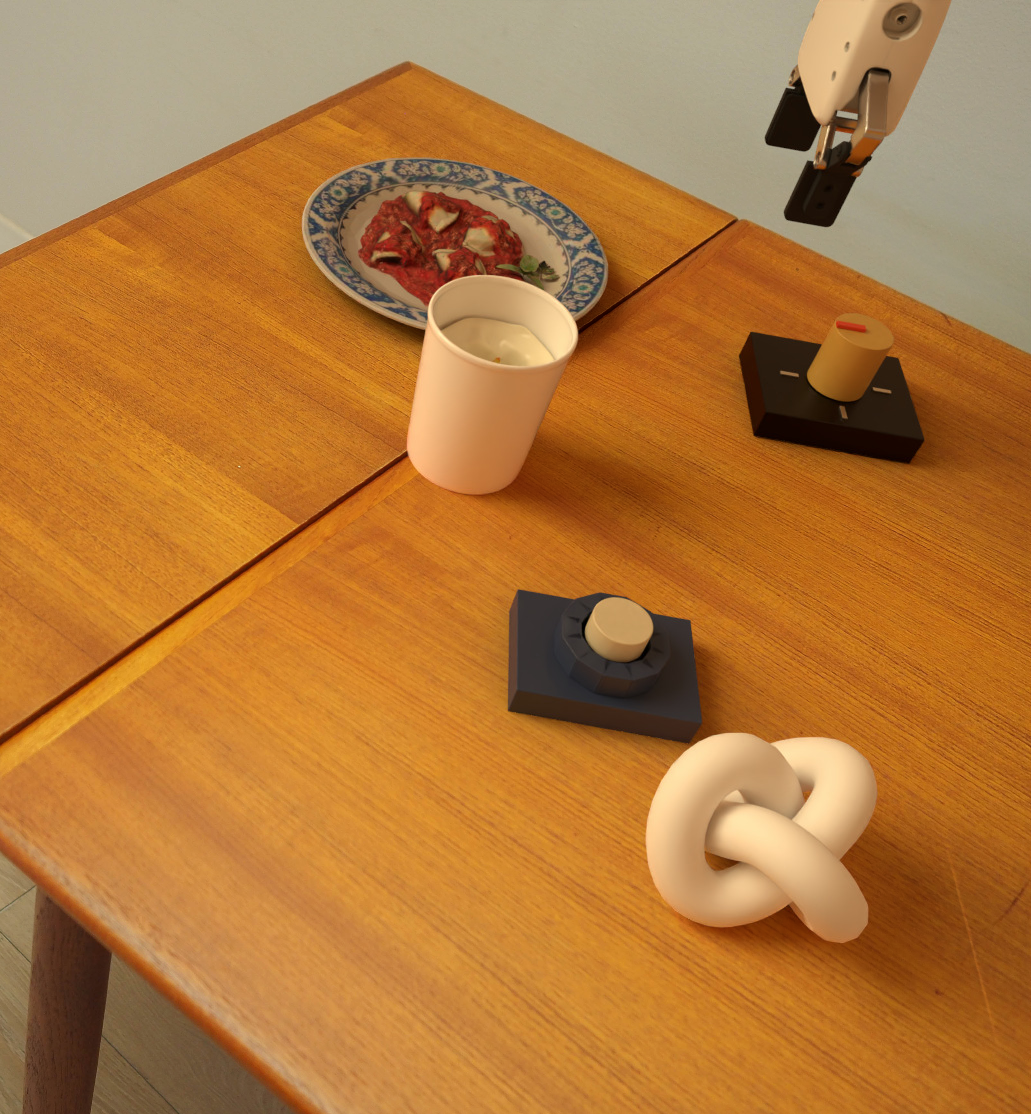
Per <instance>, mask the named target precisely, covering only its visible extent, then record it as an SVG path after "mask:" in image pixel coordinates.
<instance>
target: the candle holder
mask: <svg viewBox="0 0 1031 1114" xmlns="http://www.w3.org/2000/svg"><path fill="white" fill-rule="evenodd" d="M576 322H577V321H575V320H574V318H573V316H572V315H571V313H570V312H569V311H568V310H567V308H566V307H565V306H564V305H563V304H562V303H561V302H560V301H558V300H557V299H556V298H554V297H553V296H552V295H550V294H549V293H547V292H545V291H544V290H542V289H540V288H538V287H536V286H533V285H531V284H529V283H526V282H523V281H520V280H516V279H512V278H508V277H502V276H494V275H474V276H467V277H462V278H458V279H455V280H453V281H450V282H448V283H446V284H445V285H443V286H442V287H440V288H439V289H438V290H437V291H436V292H435V293H434V295H433V296H432V298H431V300H430V303H429V306H428V318H427V324H426V330H424V336H423V341H422V348H421V353H420V360H419V365H418V371H417V376H416V381H415V387H414V388H415V389H414V393H413V399H412V405H411V412H410V417H409V423H408V428H407V430H408V431H407V436H406V452H407V456H408V458H409V461H410V462H411V464H412V465H413V467H414V468H415V470H416V471H417V472H418V473H419V474H420V475H421V476H422V477H423V478H425V479H426V480H427V481H428V482H430V483H432V484H434V485H435V486H437V487H440V488H441V489H444V490H447V491H449V492H453V493H457V494H461V495H470V496H481V495H488V494H493V493H497V492H499V491H502V490H504V489H505V488H507V487H508V486H509V485H511V484H512V483H513V482H514V481H515V480H516V478H517V477H518V475H519V474H520V472H521V470H522V467H523V466H524V464H525V461H526V459H527V457H528V455H529V453H530V450H531V448H532V446H533V444H534V441H535V439H536V437H537V435H538V432H539V430H540V427H541V425H542V423H543V421H544V418H545V416H546V414H547V411H548V409H549V407H550V405H551V402H552V400H553V398H554V395H555V393H556V391H557V389H558V386H559V384H560V381H561V379H562V377H563V375H564V372H565V370H566V368H567V366H568V363H569V362H570V359H571V357H572V355H573V353H574V352H575V350H576V348H577V346H578V342H579V330H578V326H577V323H576Z"/></svg>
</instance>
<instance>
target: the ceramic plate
mask: <svg viewBox="0 0 1031 1114" xmlns="http://www.w3.org/2000/svg"><path fill="white" fill-rule="evenodd" d="M312 192H313V193H312V194H311V195H310V196H309V198H308V200H307V201H306V204H305V205H304V208H303V209H304V210H303V212H302V217H301V233H302V234H301V235H302V238H303V242H304V244H305V247H306V250H307V252H308V254H309V255H310V257H311V259H312V261H313V262H314V264H315V265H316V266H317V268H318V269H319V270H320V272H322V274H323V275H324V276H325V277H326V278H327V279H328V280H329V281H330V282H331V283H332V284H333V285H335V286H336V287H337V288H338V289H339V290H340V291H341V292H343V293H345V294H346V295H347V296H348V297H350V298H352V300H354V301H356V302H358V303H359V304H360V305H362V306H364V307H366V308H368V309H369V310H371V311H374V312H376V313H378V314H379V315H382V316H383V317H386V318H389V319H391V320H394V321H396V322H398V323H401V324H404V325H407V326H409V327H413V328H416V329H420V330H423V331H425V330H426V324H427V318H428V306H429V303H430V300H431V298H432V296H433V295H434V293H435V292H436V291H437V290H438V289H439V288H440V287H442V286H443V285H445V284H446V283H448V282H450V281H453V280H455V279H458V278H462V277H467V276H474V275H494V276H502V277H508V278H512V279H516V280H520V281H523V282H526V283H529V284H531V285H533V286H536V287H538V288H540V289H542V290H544V291H545V292H547V293H549V294H550V295H552V296H553V297H554V298H556V299H557V300H558V301H560V302H561V303H562V304H563V305H564V306H565V307H566V308H567V310H568V311H569V312H570V313H571V315H572V316H573V318H574V320H575V322H577V321H579V320H580V319H581V318H583V317H585V316H586V315H587V314H588V313H589V312H590V311H591V310H592V309H593V308H594V307H595V306H596V305H597V304H598V303H599V301H600V300H601V297H602V296H603V294H604V292H605V290H606V287H607V284H608V281H609V280H608V278H609V263H608V259H607V258H608V257H607V255H606V252H605V249H604V247H603V245H602V243H601V241H600V238H599V237H598V236H597V235H596V233H595V232H594V231H593V229H592V227H590V225H588V224H587V222H586V221H585V220H584V219H583V218H582V217H581V216H580V215H579V214H577V213H576V212H575V211H574V210H573V209H572V208H571V207H570V206H569V205H567V204H566V203H564V202H563V201H561V200H560V199H558V198H556V197H555V196H553V195H552V194H551V193H549V192H547V191H546V190H544V189H542V188H540V187H538V186H536V185H534V184H532V183H530V182H528V181H526V180H524V179H521V178H519V177H517V176H514V175H512V174H509V173H507V172H503V171H499V170H496V169H493V168H490V167H487V166H483V165H481V164H476V163H472V162H467V161H460V160H453V159H447V158H440V157H439V158H437V157H390V158H384V159H379V160H374V161H369V162H365V163H361V164H357V165H354V166H351V167H349V168H347V169H344V170H341V171H340V172H338V173H336V174H334V175H332V176H331V177H330V178H327V179H326V180H325V181H324V182H322V183H321V184H320V185H319V186H318V187H317V188H316V189H315V190H314V191H312Z"/></svg>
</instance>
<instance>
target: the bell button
mask: <svg viewBox="0 0 1031 1114" xmlns="http://www.w3.org/2000/svg"><path fill="white" fill-rule="evenodd" d="M633 601H634V600H632V601H630V600H627V599H624V598H617V597H613V598H607V599H604V600H602V601H600V602H599V603H598V604H597V605H596V606H595V607H594V610H593V612H592V614H591V616H590V618H589V620H588V623H587V625H586V627H585V637H586V640H587V642H588V644H589V646H590V647H591V648H592V649H593V650H594V651H595V652H596V653H597V654H598V655H600V656H601V657H603V658H605V659H608V660H611V661H614V662H630V661H633V660H635V659H637V658H638V657H639V656H640V655H641V654H642V652H643V651H644V649H645V647H646V645H647V643H648V641H649V639H650V637H651V635H652V633H653V623H652V620H651V618H650V616H649V614H648V613H647V612H646V611H645V610H644V609H643V608H642V607H641V606H642V605H641V606H639V605H640V604H639V603H638V604H639V605H638V604H636V603H637V602H636V601H634V602H633ZM635 602H636V603H635Z"/></svg>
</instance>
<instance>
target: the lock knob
mask: <svg viewBox="0 0 1031 1114" xmlns="http://www.w3.org/2000/svg"><path fill="white" fill-rule="evenodd" d="M894 343H895V336H894V334H893V332H892V330H890V328H889V327H888V326H887V325H886V324H885V323H883V322H881V321H880V320H878V319H876V318H874V317H872V316H869V315H866V314H862V313H858V312H847V313H846V312H845V313H842V314H839V315H838V316H837V317H836V318H835V320H834V322H833V324H832V325H831V327H830V329H829V330H828V333H827V335H826V336H825V338H824V340H823V342H822V343H821V344H822V346H821V348H820V349H819V351H818V353H817V355H816V357H815V359H814V361H813V362H812V364H811V366H810V368H809V370H808V372H807V378H808V381H809V383H810V384H811V385H812V387H813V388H814V389H816V390H817V391H818V392H820V393H821V394H823V395H825V396H827V397H829V398H831V399H834V400H838V401H846V402H849V401H855V400H858V399H860V398H861V397H862V396H863V394H864V393H865V391H866V389H867V388H868V386H869V384H870V382H871V381H872V379H873V377H874V376H875V374H876V372H877V371H878V369H879V367H880V366H881V364H882V362H883V360H884V359H885V357H886V356H888V354H889V353H890V350H891V349H892V347H893V346H894Z"/></svg>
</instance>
